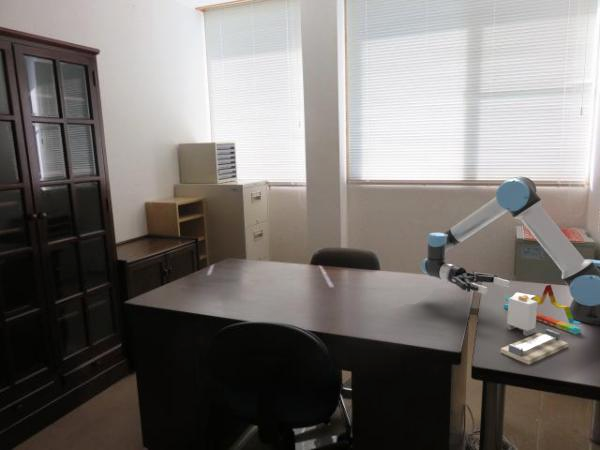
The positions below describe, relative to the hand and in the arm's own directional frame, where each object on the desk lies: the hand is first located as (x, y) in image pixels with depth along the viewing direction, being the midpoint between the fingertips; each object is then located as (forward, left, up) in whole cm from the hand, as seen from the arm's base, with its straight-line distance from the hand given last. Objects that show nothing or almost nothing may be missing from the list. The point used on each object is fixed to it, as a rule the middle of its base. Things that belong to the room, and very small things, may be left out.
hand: (498, 287), depth 174 cm
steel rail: (+4, +24, -12) cm, 27 cm away
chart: (-17, +4, -14) cm, 23 cm away
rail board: (+4, +24, -14) cm, 28 cm away
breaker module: (-3, +10, -14) cm, 17 cm away
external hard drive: (-27, -16, -15) cm, 35 cm away
